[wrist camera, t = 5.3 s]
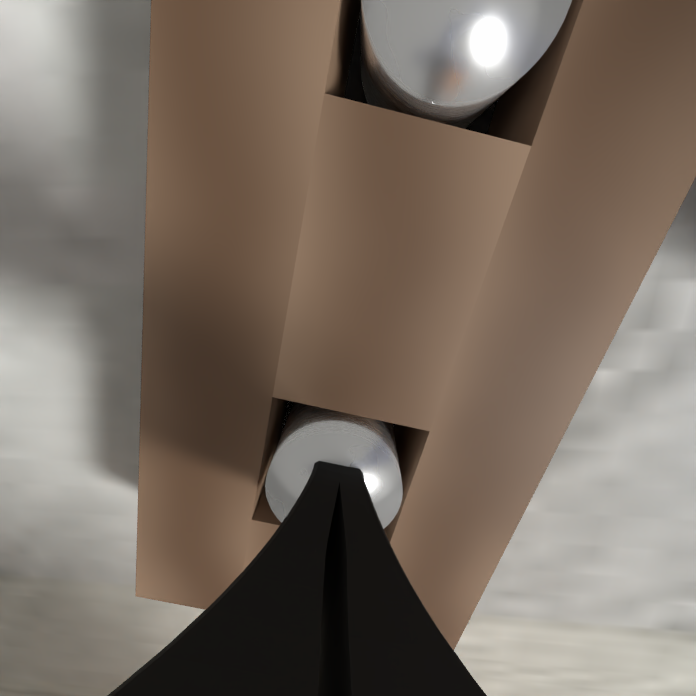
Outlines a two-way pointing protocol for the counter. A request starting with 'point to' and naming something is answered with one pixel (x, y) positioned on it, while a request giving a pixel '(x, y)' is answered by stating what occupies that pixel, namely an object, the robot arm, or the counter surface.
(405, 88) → the peg
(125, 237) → the counter surface
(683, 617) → the counter surface
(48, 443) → the counter surface
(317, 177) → the wooden peg board
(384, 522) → the peg
